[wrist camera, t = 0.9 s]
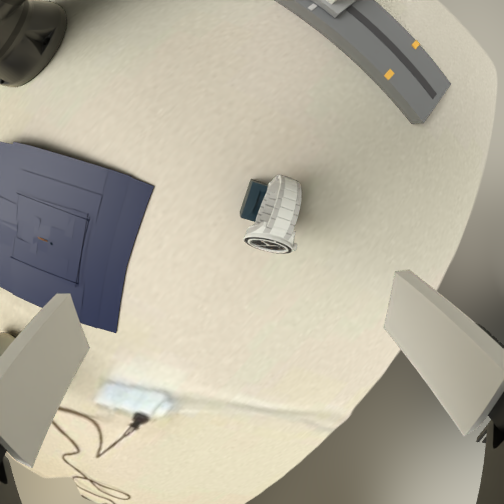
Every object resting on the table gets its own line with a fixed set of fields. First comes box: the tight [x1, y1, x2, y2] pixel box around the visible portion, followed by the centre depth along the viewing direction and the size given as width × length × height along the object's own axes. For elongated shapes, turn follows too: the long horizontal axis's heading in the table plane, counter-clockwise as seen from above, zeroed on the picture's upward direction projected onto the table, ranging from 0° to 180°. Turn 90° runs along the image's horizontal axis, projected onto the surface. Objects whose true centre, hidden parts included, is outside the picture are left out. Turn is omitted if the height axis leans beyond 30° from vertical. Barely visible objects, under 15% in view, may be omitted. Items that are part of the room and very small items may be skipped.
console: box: [275, 0, 451, 124], centre depth 26 cm, size 26×10×3 cm, turn 51°
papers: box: [0, 142, 154, 333], centre depth 32 cm, size 24×30×4 cm
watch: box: [240, 174, 302, 254], centre depth 30 cm, size 6×8×11 cm
